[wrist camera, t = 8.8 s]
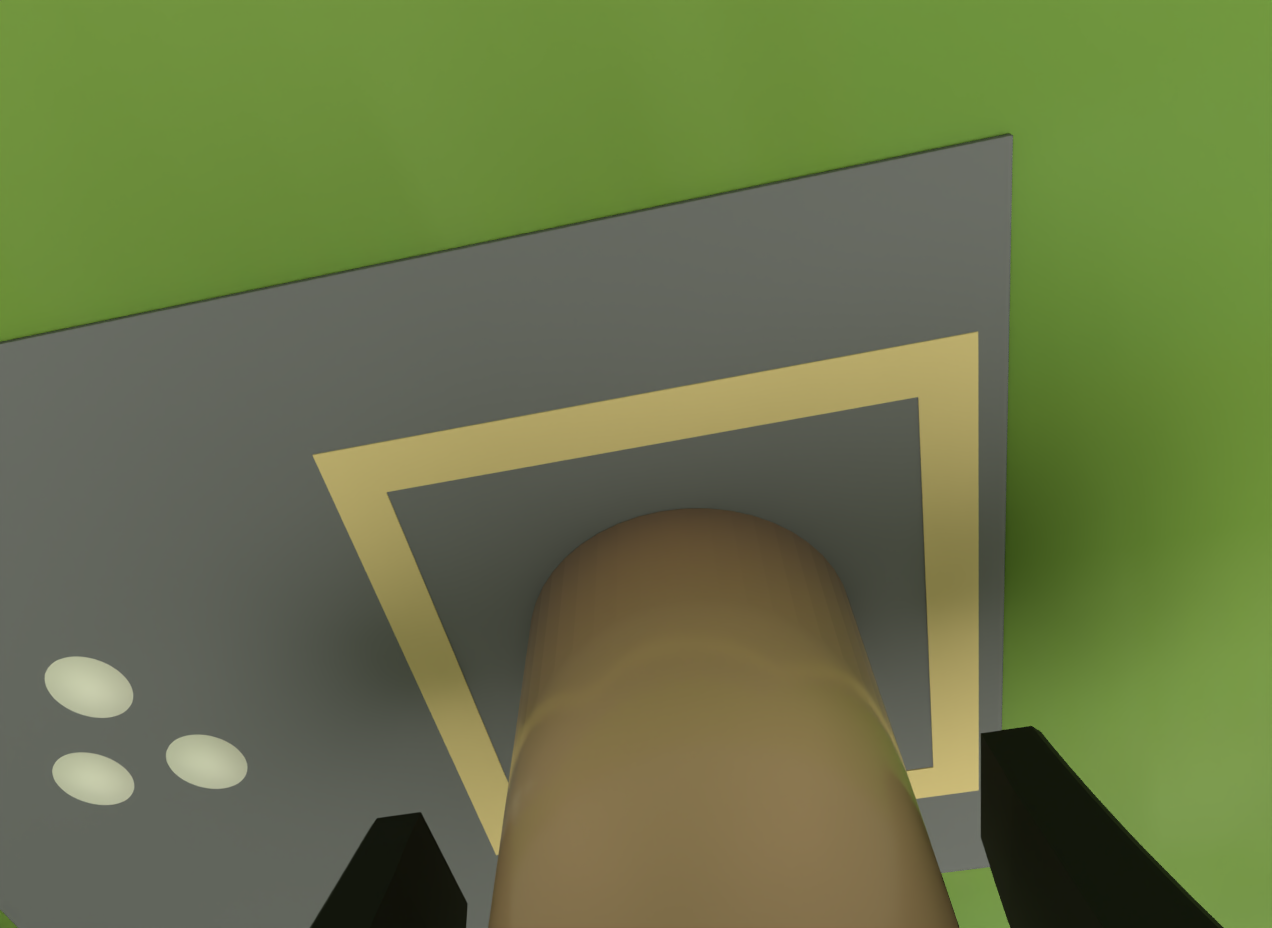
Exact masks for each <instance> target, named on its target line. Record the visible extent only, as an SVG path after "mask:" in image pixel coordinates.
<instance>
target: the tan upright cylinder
mask: <svg viewBox="0 0 1272 928" xmlns="http://www.w3.org/2000/svg"><path fill="white" fill-rule="evenodd" d="M488 928H959V925H958V922H957V919H956V916H955V913H954V910H953V907H952V904H951V901H950V898H949V895H948V892H947V889H946V887H945V884H944V881H943V878H942V875H941V872H940V869H939V866H938V863H937V860H936V857H935V854H934V851H933V848H932V845H931V842H930V839H929V836H928V833H927V830H926V827H925V824H924V821H923V818H922V815H921V812H920V809H919V806H918V803H917V800H916V797H915V794H914V791H913V788H912V785H911V783H910V780H909V777H908V774H907V771H906V768H905V765H904V762H903V759H902V756H901V753H900V750H899V747H898V744H897V741H896V738H895V735H894V732H893V729H892V726H891V723H890V720H889V717H888V714H887V711H886V708H885V705H884V702H883V699H882V696H881V693H880V690H879V687H878V684H877V681H876V679H875V676H874V673H873V670H872V667H871V664H870V661H869V658H868V655H867V652H866V649H865V646H864V643H863V640H862V637H861V634H860V631H859V628H858V625H857V622H856V619H855V616H854V613H853V610H852V607H851V604H850V601H849V598H848V596H847V593H846V591H845V588H844V585H843V583H842V582H841V580H840V578H839V576H838V575H837V573H836V571H835V570H834V568H833V567H832V566H831V565H830V564H829V562H828V561H827V560H826V559H825V558H824V556H823V555H822V554H821V553H819V552H818V551H817V550H816V549H815V548H814V547H813V546H812V545H810V544H809V543H808V542H807V541H805V540H804V539H802V538H801V537H799V536H798V535H796V534H795V533H793V532H791V531H789V530H787V529H785V528H783V527H781V526H779V525H777V524H775V523H773V522H770V521H767V520H764V519H761V518H758V517H755V516H752V515H748V514H743V513H739V512H734V511H728V510H718V509H709V508H696V509H677V510H668V511H661V512H656V513H652V514H648V515H643V516H639V517H636V518H633V519H630V520H627V521H625V522H622V523H619V524H617V525H615V526H612V527H610V528H608V529H606V530H604V531H602V532H600V533H598V534H597V535H595V536H593V537H592V538H590V539H589V540H587V541H586V542H584V543H583V544H581V545H580V546H579V547H577V548H576V549H575V550H574V551H573V552H572V553H570V554H569V555H568V556H567V557H566V558H565V559H564V560H563V561H562V562H561V563H560V564H559V565H558V567H557V568H556V569H555V570H554V571H553V572H552V574H551V575H550V577H549V578H548V580H547V581H546V583H545V584H544V586H543V588H542V590H541V592H540V594H539V596H538V599H537V601H536V603H535V607H534V611H533V615H532V618H531V625H530V632H529V639H528V647H527V654H526V661H525V668H524V675H523V682H522V689H521V697H520V704H519V711H518V718H517V725H516V732H515V739H514V747H513V754H512V761H511V768H510V775H509V782H508V789H507V797H506V804H505V811H504V818H503V825H502V832H501V839H500V847H499V854H498V861H497V868H496V875H495V882H494V889H493V897H492V904H491V911H490V918H489V925H488Z"/></svg>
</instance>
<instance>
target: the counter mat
mask: <svg viewBox="0 0 1272 928" xmlns="http://www.w3.org/2000/svg"><path fill="white" fill-rule="evenodd" d="M1012 148H1013V135H1011V134H1005V135H1001V136H996V137H991V138H986V139H981V140H976V141H971V142H967V143H962V144H957V145H952V146H947V147H942V148H938V149H933V150H928V151H923V152H918V153H913V154H909V155H904V156H899V157H894V158H889V159H884V160H880V161H875V162H870V163H865V164H860V165H855V166H850V167H846V168H841V169H836V170H831V171H826V172H821V173H817V174H812V175H807V176H802V177H797V178H792V179H788V180H783V181H778V182H773V183H768V184H763V185H759V186H754V187H749V188H744V189H739V190H734V191H729V192H725V193H720V194H715V195H710V196H705V197H700V198H696V199H691V200H686V201H681V202H676V203H671V204H667V205H662V206H657V207H652V208H647V209H642V210H638V211H633V212H628V213H623V214H618V215H613V216H608V217H604V218H599V219H594V220H589V221H584V222H579V223H575V224H570V225H565V226H560V227H555V228H550V229H546V230H541V231H536V232H531V233H526V234H521V235H517V236H512V237H507V238H502V239H497V240H492V241H488V242H483V243H478V244H473V245H468V246H463V247H458V248H454V249H449V250H444V251H439V252H434V253H429V254H425V255H420V256H415V257H410V258H405V259H400V260H396V261H391V262H386V263H381V264H376V265H371V266H367V267H362V268H357V269H352V270H347V271H342V272H337V273H333V274H328V275H323V276H318V277H313V278H308V279H304V280H299V281H294V282H289V283H284V284H279V285H275V286H270V287H265V288H260V289H255V290H250V291H246V292H241V293H236V294H231V295H226V296H221V297H216V298H212V299H207V300H202V301H197V302H192V303H187V304H183V305H178V306H173V307H168V308H163V309H158V310H154V311H149V312H144V313H139V314H134V315H129V316H125V317H120V318H115V319H110V320H105V321H100V322H95V323H91V324H86V325H81V326H76V327H71V328H66V329H62V330H57V331H52V332H47V333H42V334H37V335H33V336H28V337H23V338H18V339H13V340H8V341H4V342H0V910H1V911H2V912H3V913H4V914H5V915H6V916H7V917H8V918H9V919H10V920H11V921H12V922H13V923H14V924H15V925H16V926H17V927H18V928H310V926H311V925H312V923H313V922H314V920H315V918H316V917H317V915H318V913H319V912H320V910H321V908H322V907H323V905H324V904H325V902H326V900H327V899H328V897H329V895H330V894H331V892H332V890H333V889H334V887H335V885H336V884H337V882H338V880H339V879H340V877H341V875H342V874H343V872H344V870H345V869H346V867H347V865H348V864H349V862H350V860H351V859H352V857H353V855H354V854H355V852H356V850H357V849H358V847H359V845H360V844H361V842H362V840H363V839H364V837H365V835H366V834H367V832H368V830H369V829H370V827H371V825H372V824H373V823H374V821H375V820H376V819H377V818H381V817H388V816H395V815H402V814H410V813H417V812H421V813H422V815H423V817H424V819H425V821H426V823H427V825H428V827H429V829H430V831H431V833H432V835H433V837H434V838H435V840H436V842H437V844H438V846H439V848H440V850H441V852H442V854H443V856H444V858H445V860H446V862H447V864H448V866H449V868H450V870H451V872H452V874H453V876H454V878H455V880H456V882H457V884H458V886H459V888H460V889H461V891H462V893H463V895H464V897H465V899H466V901H467V903H468V906H467V922H466V928H488V925H489V918H490V911H491V904H492V897H493V889H494V882H495V875H496V868H497V861H498V854H499V847H500V839H501V832H502V825H503V818H504V811H505V804H506V797H507V789H508V782H509V775H510V768H511V761H512V754H513V747H514V739H515V732H516V725H517V718H518V711H519V704H520V697H521V689H522V682H523V675H524V668H525V661H526V654H527V647H528V639H529V632H530V625H531V618H532V615H533V611H534V607H535V603H536V601H537V599H538V596H539V594H540V592H541V590H542V588H543V586H544V584H545V583H546V581H547V580H548V578H549V577H550V575H551V574H552V572H553V571H554V570H555V569H556V568H557V567H558V565H559V564H560V563H561V562H562V561H563V560H564V559H565V558H566V557H567V556H568V555H569V554H570V553H572V552H573V551H574V550H575V549H576V548H577V547H579V546H580V545H581V544H583V543H584V542H586V541H587V540H589V539H590V538H592V537H593V536H595V535H597V534H598V533H600V532H602V531H604V530H606V529H608V528H610V527H612V526H615V525H617V524H619V523H622V522H625V521H627V520H630V519H633V518H636V517H639V516H643V515H648V514H652V513H656V512H661V511H668V510H677V509H696V508H709V509H718V510H728V511H734V512H739V513H743V514H748V515H752V516H755V517H758V518H761V519H764V520H767V521H770V522H773V523H775V524H777V525H779V526H781V527H783V528H785V529H787V530H789V531H791V532H793V533H795V534H796V535H798V536H799V537H801V538H802V539H804V540H805V541H807V542H808V543H809V544H810V545H812V546H813V547H814V548H815V549H816V550H817V551H818V552H819V553H821V554H822V555H823V556H824V558H825V559H826V560H827V561H828V562H829V564H830V565H831V566H832V567H833V568H834V570H835V571H836V573H837V575H838V576H839V578H840V580H841V582H842V583H843V585H844V588H845V591H846V593H847V596H848V598H849V601H850V604H851V607H852V610H853V613H854V616H855V619H856V622H857V625H858V628H859V631H860V634H861V637H862V640H863V643H864V646H865V649H866V652H867V655H868V658H869V661H870V664H871V667H872V670H873V673H874V676H875V679H876V681H877V684H878V687H879V690H880V693H881V696H882V699H883V702H884V705H885V708H886V711H887V714H888V717H889V720H890V723H891V726H892V729H893V732H894V735H895V738H896V741H897V744H898V747H899V750H900V753H901V756H902V759H903V762H904V765H905V768H906V771H907V774H908V777H909V780H910V783H911V785H912V788H913V791H914V794H915V797H916V800H917V803H918V806H919V809H920V812H921V815H922V818H923V821H924V824H925V827H926V830H927V833H928V836H929V839H930V842H931V845H932V848H933V851H934V854H935V857H936V860H937V863H938V866H939V869H940V872H941V873H945V872H953V871H961V870H969V869H977V868H985V867H990V865H989V862H988V859H987V856H986V853H985V849H984V846H983V843H982V840H981V733H986V732H993V731H1000V730H1002V684H1003V630H1004V576H1005V523H1006V469H1007V416H1008V362H1009V309H1010V255H1011V202H1012Z"/></svg>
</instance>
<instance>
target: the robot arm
mask: <svg viewBox="0 0 1272 928" xmlns="http://www.w3.org/2000/svg"><path fill="white" fill-rule="evenodd" d="M981 840H982V843H983V846H984V849H985V853H986V856H987V859H988V862H989V865H990V868H991V871H992V874H993V877H994V881H995V884H996V887H997V890H998V893H999V896H1000V899H1001V902H1002V905H1003V908H1004V911H1005V914H1006V917H1007V920H1008V922H1009V925H1010V927H1011V928H1223V927H1222V926H1221V925H1220V924H1219V923H1218V922H1217V921H1216V920H1215V919H1214V918H1213V917H1212V916H1211V915H1210V914H1209V913H1208V912H1207V911H1206V910H1205V909H1204V908H1203V907H1202V906H1201V905H1200V904H1199V903H1198V902H1196V901H1195V900H1194V899H1193V898H1192V897H1191V896H1190V895H1189V893H1188V892H1187V891H1186V890H1185V889H1184V888H1183V887H1182V886H1181V885H1180V884H1179V883H1178V882H1177V881H1176V880H1175V879H1174V878H1173V877H1172V876H1171V875H1170V874H1169V873H1168V872H1167V871H1166V870H1165V869H1164V868H1163V867H1162V866H1161V865H1160V864H1159V863H1158V862H1157V861H1156V860H1155V859H1154V858H1153V857H1152V856H1151V855H1150V854H1149V853H1148V852H1147V851H1146V850H1145V849H1144V848H1143V847H1142V846H1141V845H1140V844H1139V843H1138V842H1137V840H1136V839H1135V838H1134V837H1133V836H1132V835H1131V834H1130V833H1129V832H1128V831H1127V830H1126V829H1125V828H1124V827H1123V826H1122V825H1121V823H1120V822H1119V821H1118V820H1117V819H1116V818H1115V817H1114V816H1113V815H1112V814H1111V813H1110V811H1109V810H1108V809H1107V808H1106V807H1105V806H1104V805H1103V804H1102V803H1101V802H1100V801H1099V799H1098V798H1097V797H1096V796H1095V795H1094V794H1093V793H1092V792H1091V790H1090V789H1089V788H1088V787H1087V786H1086V785H1085V784H1084V783H1083V781H1082V780H1081V779H1080V778H1079V777H1078V776H1077V775H1076V773H1075V772H1074V771H1073V770H1072V769H1071V768H1070V766H1069V765H1068V764H1067V763H1066V762H1065V761H1064V759H1063V758H1062V757H1061V756H1060V755H1059V754H1058V752H1057V751H1056V750H1055V749H1054V748H1053V746H1052V745H1051V744H1050V743H1049V742H1048V740H1047V739H1046V738H1045V737H1044V735H1043V734H1042V733H1041V732H1040V731H1039V730H1037V729H1036V728H1034V727H1032V726H1029V727H1022V728H1015V729H1007V730H1000V731H993V732H986V733H981ZM467 906H468V903H467V901H466V899H465V897H464V895H463V893H462V891H461V889H460V888H459V886H458V884H457V882H456V880H455V878H454V876H453V874H452V872H451V870H450V868H449V866H448V864H447V862H446V860H445V858H444V856H443V854H442V852H441V850H440V848H439V846H438V844H437V842H436V840H435V838H434V837H433V835H432V833H431V831H430V829H429V827H428V825H427V823H426V821H425V819H424V817H423V815H422V813H421V812H417V813H410V814H402V815H395V816H388V817H381V818H377V819H376V820H375V821H374V823H373V824H372V825H371V827H370V829H369V830H368V832H367V834H366V835H365V837H364V839H363V840H362V842H361V844H360V845H359V847H358V849H357V850H356V852H355V854H354V855H353V857H352V859H351V860H350V862H349V864H348V865H347V867H346V869H345V870H344V872H343V874H342V875H341V877H340V879H339V880H338V882H337V884H336V885H335V887H334V889H333V890H332V892H331V894H330V895H329V897H328V899H327V900H326V902H325V904H324V905H323V907H322V908H321V910H320V912H319V913H318V915H317V917H316V918H315V920H314V922H313V923H312V925H311V926H310V928H466V922H467Z"/></svg>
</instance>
